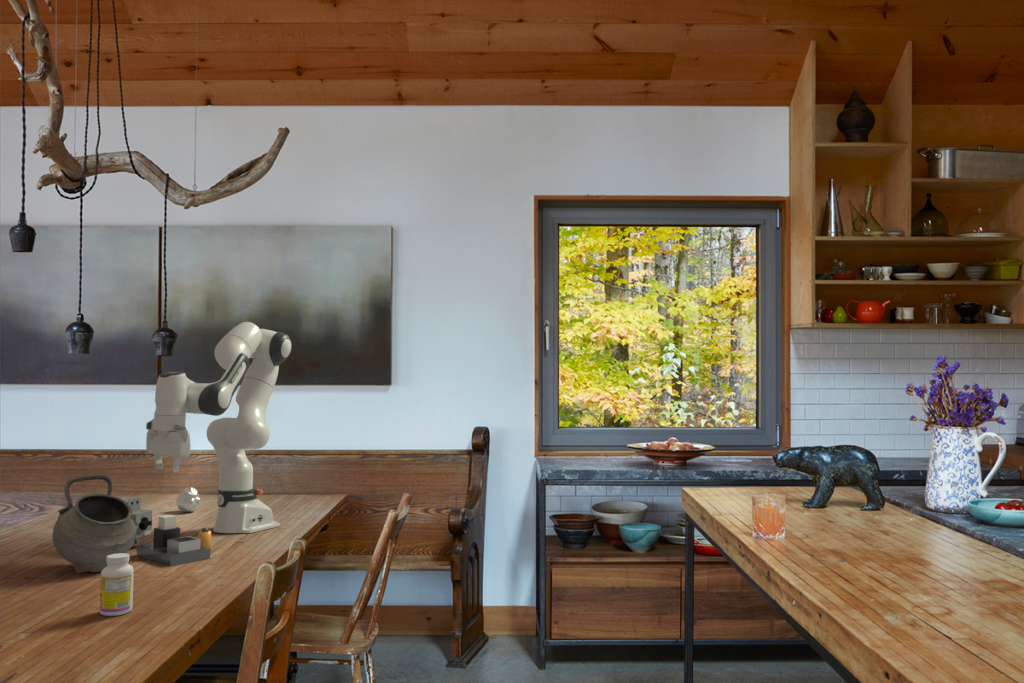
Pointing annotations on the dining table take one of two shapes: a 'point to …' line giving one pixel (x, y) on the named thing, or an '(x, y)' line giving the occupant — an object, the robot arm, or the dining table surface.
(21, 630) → the dining table surface
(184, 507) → the silver crumpled lump
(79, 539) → the pot
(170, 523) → the button
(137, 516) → the circuit breaker
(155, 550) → the grey socket board
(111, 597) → the supplement bottle
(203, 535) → the orange rounded cylinder
